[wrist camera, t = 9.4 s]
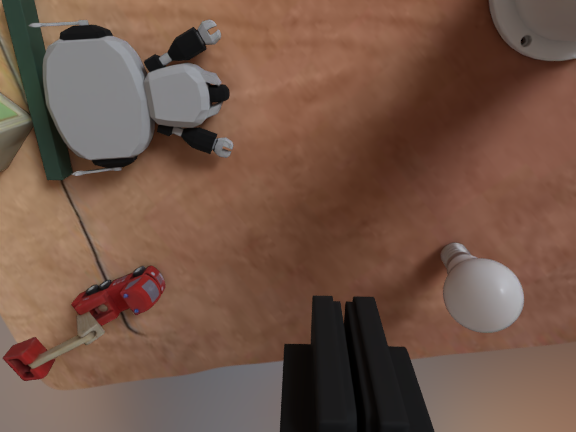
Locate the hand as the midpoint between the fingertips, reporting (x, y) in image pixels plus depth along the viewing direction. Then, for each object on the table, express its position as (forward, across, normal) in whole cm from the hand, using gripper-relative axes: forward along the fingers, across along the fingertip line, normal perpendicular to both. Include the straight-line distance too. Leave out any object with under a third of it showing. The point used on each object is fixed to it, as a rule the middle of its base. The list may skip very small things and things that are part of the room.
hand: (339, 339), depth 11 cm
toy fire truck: (+29, +22, +19) cm, 41 cm away
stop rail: (+29, +24, -3) cm, 38 cm away
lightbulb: (+29, -15, +13) cm, 35 cm away
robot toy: (+29, +15, -2) cm, 33 cm away
